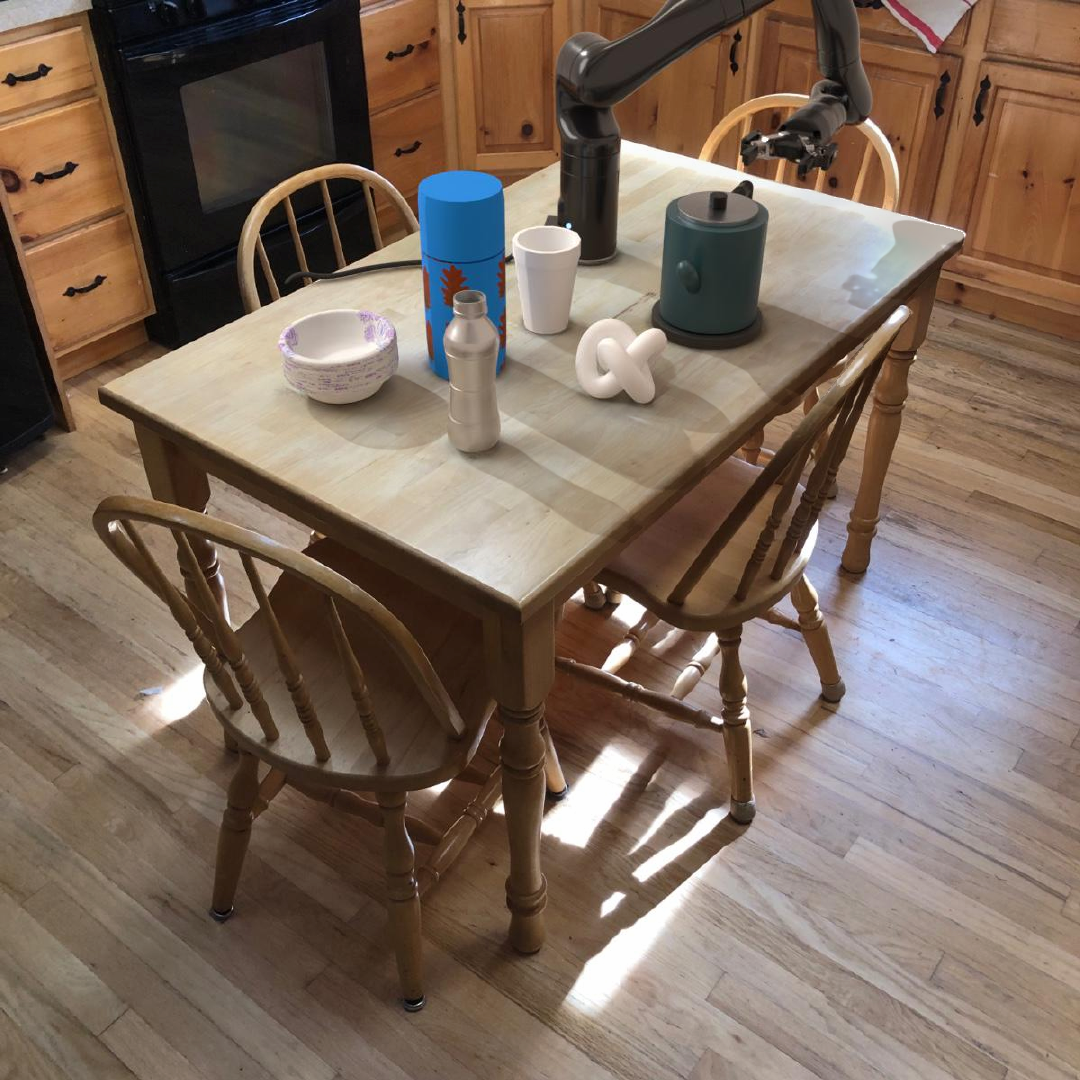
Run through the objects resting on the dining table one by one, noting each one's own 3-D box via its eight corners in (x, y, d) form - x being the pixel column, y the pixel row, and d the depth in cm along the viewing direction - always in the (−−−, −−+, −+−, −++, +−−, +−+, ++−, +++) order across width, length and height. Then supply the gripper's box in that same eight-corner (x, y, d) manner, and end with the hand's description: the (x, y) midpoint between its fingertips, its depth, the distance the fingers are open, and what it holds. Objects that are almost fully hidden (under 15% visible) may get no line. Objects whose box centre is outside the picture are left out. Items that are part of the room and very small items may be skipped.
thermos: (496, 386, 158) (492, 205, 142) (418, 378, 159) (406, 198, 144) (513, 348, 166) (512, 173, 151) (440, 340, 168) (430, 167, 152)
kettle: (723, 356, 160) (736, 235, 150) (629, 332, 166) (636, 213, 155) (782, 289, 177) (797, 175, 166) (695, 269, 182) (705, 157, 171)
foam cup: (588, 317, 173) (591, 232, 166) (562, 344, 167) (564, 258, 159) (530, 304, 177) (529, 221, 169) (502, 331, 170) (501, 245, 162)
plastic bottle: (446, 431, 149) (438, 285, 136) (500, 429, 149) (497, 283, 137) (447, 460, 144) (439, 310, 131) (503, 458, 144) (500, 308, 132)
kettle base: (646, 345, 167) (647, 334, 166) (655, 294, 179) (656, 285, 178) (761, 353, 165) (762, 343, 164) (762, 302, 177) (763, 292, 176)
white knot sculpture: (678, 412, 153) (683, 350, 147) (587, 421, 151) (589, 358, 145) (656, 369, 161) (660, 309, 156) (570, 377, 160) (571, 316, 154)
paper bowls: (265, 380, 159) (257, 327, 154) (364, 348, 166) (359, 296, 161) (319, 430, 149) (312, 375, 144) (422, 393, 156) (418, 339, 151)
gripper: (768, 101, 189) (730, 132, 178) (855, 115, 184) (822, 148, 172) (763, 148, 194) (726, 180, 183) (848, 163, 188) (815, 197, 177)
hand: (773, 164), depth 177 cm, fingers open, 8 cm apart
